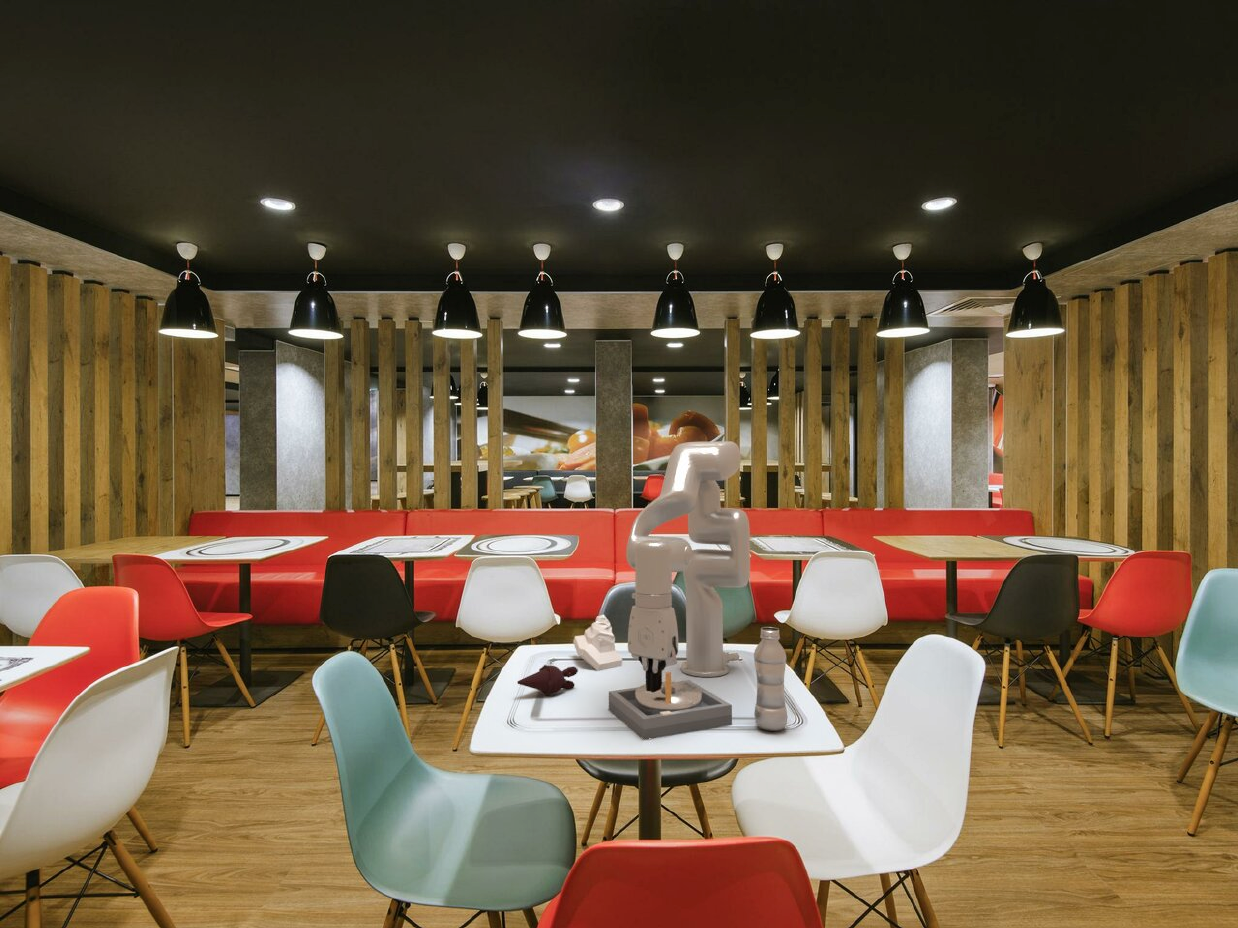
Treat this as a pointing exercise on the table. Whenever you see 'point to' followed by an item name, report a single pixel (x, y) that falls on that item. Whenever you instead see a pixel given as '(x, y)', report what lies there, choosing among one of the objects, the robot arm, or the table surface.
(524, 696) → the table surface
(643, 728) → the tray
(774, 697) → the plastic bottle
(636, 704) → the dial
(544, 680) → the icecream
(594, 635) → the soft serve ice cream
